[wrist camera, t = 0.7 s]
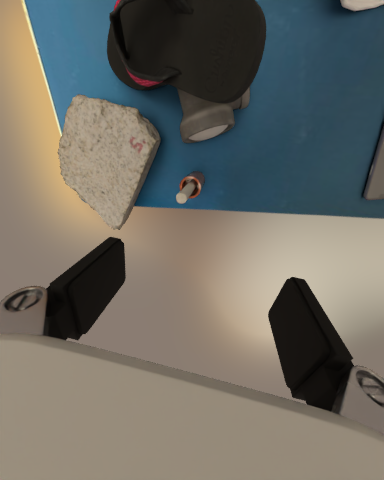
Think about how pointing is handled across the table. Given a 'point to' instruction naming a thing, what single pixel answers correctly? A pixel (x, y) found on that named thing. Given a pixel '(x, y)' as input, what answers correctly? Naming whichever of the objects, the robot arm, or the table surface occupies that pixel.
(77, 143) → the rock
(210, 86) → the sandal
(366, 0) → the cup
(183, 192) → the stylus
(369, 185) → the smartphone
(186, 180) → the pen cup
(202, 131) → the pipe fitting
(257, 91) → the table surface
